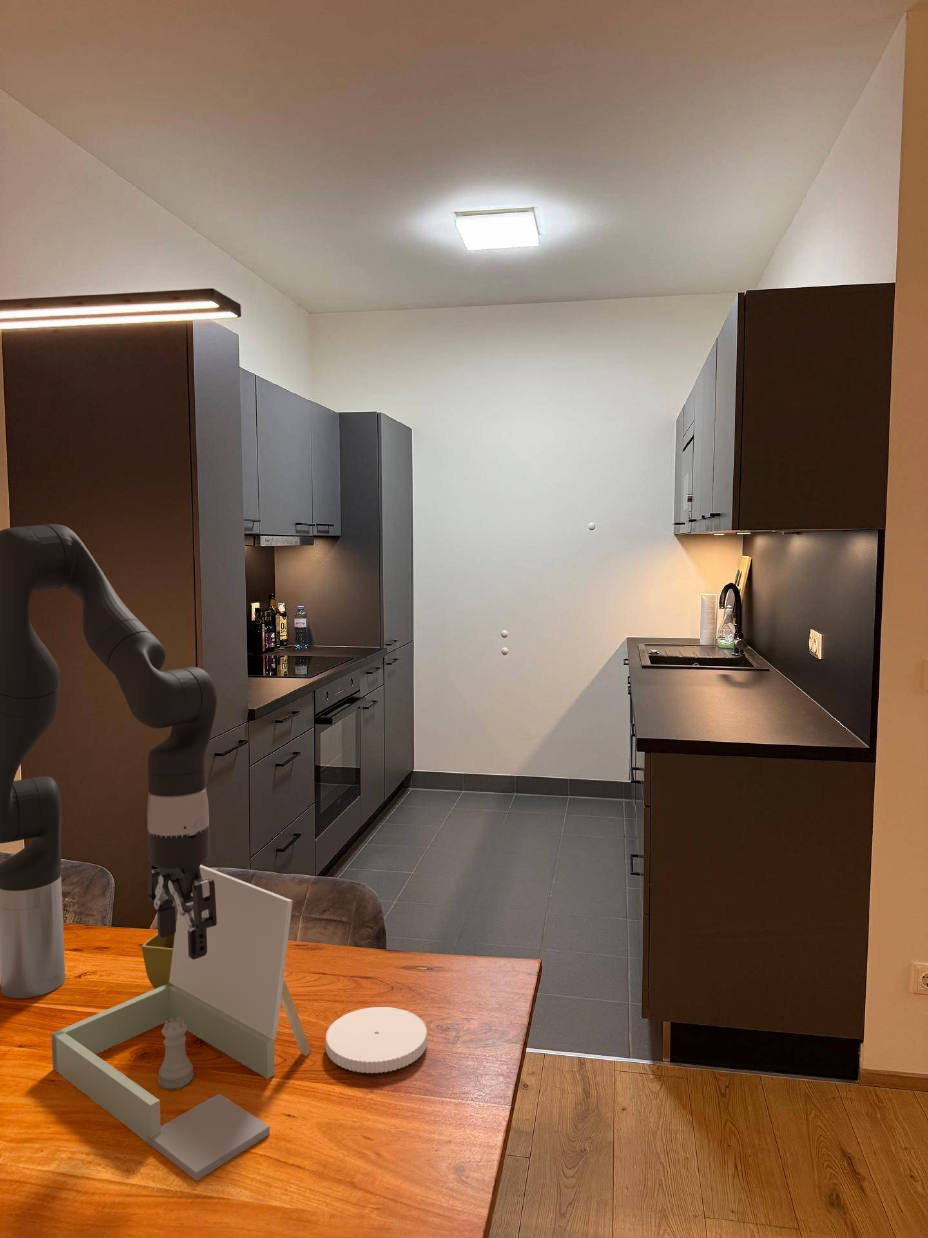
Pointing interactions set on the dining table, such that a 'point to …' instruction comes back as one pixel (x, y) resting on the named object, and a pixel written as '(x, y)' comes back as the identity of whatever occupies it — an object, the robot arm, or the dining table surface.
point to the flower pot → (158, 959)
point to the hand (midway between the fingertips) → (182, 946)
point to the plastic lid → (376, 1039)
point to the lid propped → (238, 954)
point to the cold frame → (141, 1015)
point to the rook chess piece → (175, 1056)
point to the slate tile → (208, 1136)
